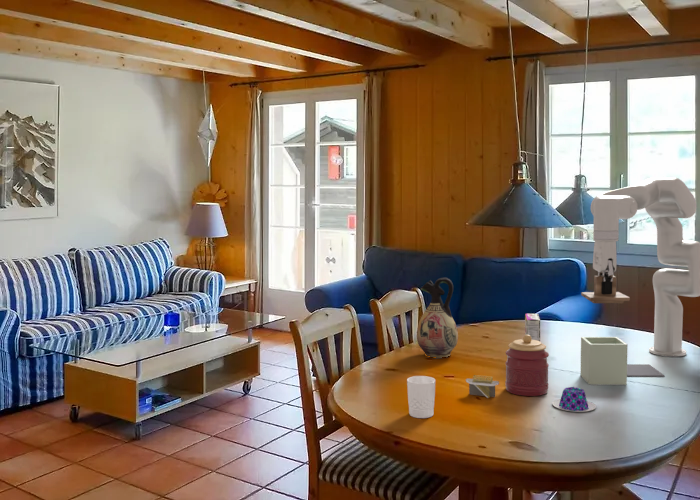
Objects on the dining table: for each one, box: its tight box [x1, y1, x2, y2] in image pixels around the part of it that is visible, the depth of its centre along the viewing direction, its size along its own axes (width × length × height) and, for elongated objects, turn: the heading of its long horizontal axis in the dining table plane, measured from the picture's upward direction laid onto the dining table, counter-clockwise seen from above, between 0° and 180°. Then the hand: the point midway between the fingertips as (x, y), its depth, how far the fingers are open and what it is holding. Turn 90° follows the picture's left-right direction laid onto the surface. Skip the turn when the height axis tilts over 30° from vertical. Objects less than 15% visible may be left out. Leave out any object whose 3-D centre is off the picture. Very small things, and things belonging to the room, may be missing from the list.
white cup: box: [406, 375, 436, 419], centre depth 194 cm, size 8×8×10 cm
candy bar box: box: [524, 313, 541, 342], centre depth 249 cm, size 11×5×16 cm, turn 168°
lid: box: [580, 275, 631, 304], centre depth 222 cm, size 11×12×8 cm
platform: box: [465, 374, 500, 399], centre depth 209 cm, size 12×18×7 cm, turn 67°
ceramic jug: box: [416, 277, 459, 359], centre depth 258 cm, size 17×15×30 cm
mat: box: [627, 363, 665, 378], centre depth 235 cm, size 14×14×1 cm
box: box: [579, 336, 628, 386], centre depth 224 cm, size 11×12×13 cm
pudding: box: [551, 386, 597, 413], centre depth 199 cm, size 12×12×5 cm
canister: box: [504, 334, 550, 397], centre depth 214 cm, size 13×13×18 cm
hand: (605, 292), depth 222 cm, fingers closed on lid, 3 cm apart
